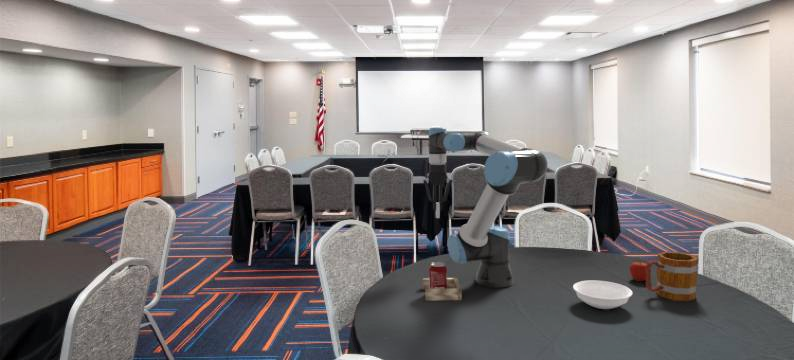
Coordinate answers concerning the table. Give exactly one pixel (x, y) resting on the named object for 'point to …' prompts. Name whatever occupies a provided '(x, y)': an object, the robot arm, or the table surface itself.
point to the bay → (443, 291)
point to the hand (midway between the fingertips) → (437, 217)
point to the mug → (674, 276)
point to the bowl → (602, 293)
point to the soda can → (437, 276)
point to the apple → (638, 271)
